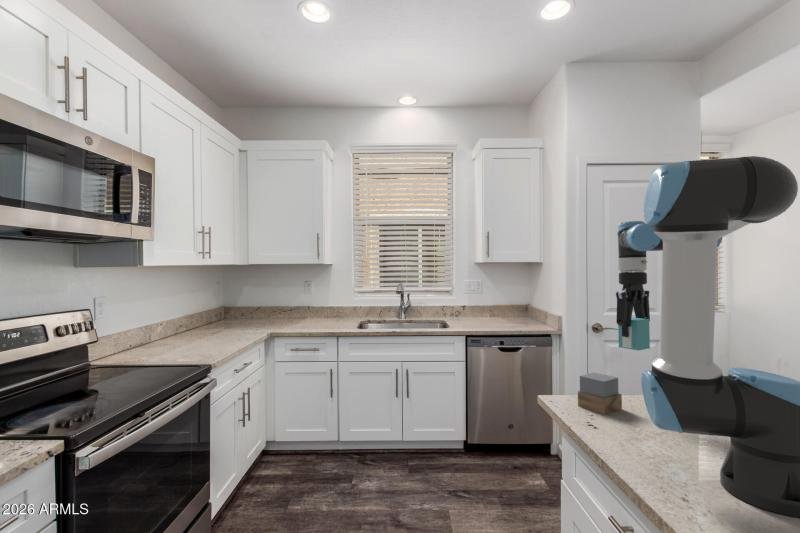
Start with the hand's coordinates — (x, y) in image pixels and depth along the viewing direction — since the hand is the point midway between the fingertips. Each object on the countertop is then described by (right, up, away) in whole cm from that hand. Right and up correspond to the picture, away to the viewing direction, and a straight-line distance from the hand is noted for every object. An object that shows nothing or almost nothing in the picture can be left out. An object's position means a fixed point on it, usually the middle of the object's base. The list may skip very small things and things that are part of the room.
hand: (634, 346), depth 121 cm
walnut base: (-9, -21, +4) cm, 23 cm away
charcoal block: (-9, -16, +4) cm, 18 cm away
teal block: (0, 0, 0) cm, 0 cm away
